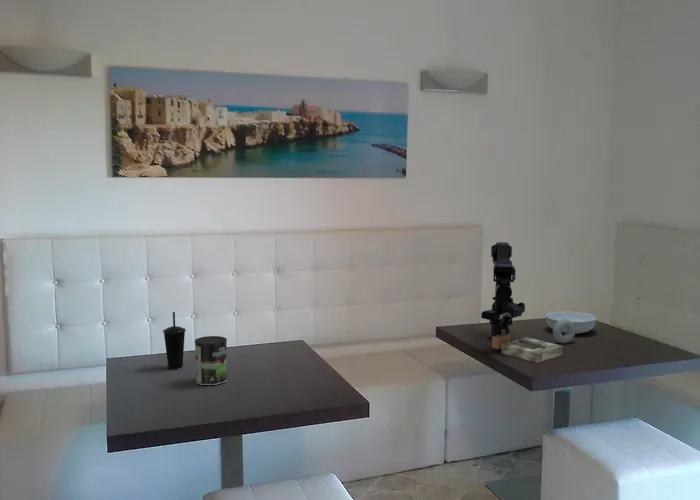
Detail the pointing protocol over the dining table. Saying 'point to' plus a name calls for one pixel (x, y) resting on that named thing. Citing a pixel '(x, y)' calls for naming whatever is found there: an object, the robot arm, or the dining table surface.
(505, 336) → the brown u-shaped block
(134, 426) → the dining table surface
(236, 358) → the dining table surface
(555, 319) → the serving bowl
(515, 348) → the grey square tray
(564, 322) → the donut
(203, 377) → the coffee can
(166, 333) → the drinking cup
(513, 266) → the robot arm
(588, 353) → the dining table surface
